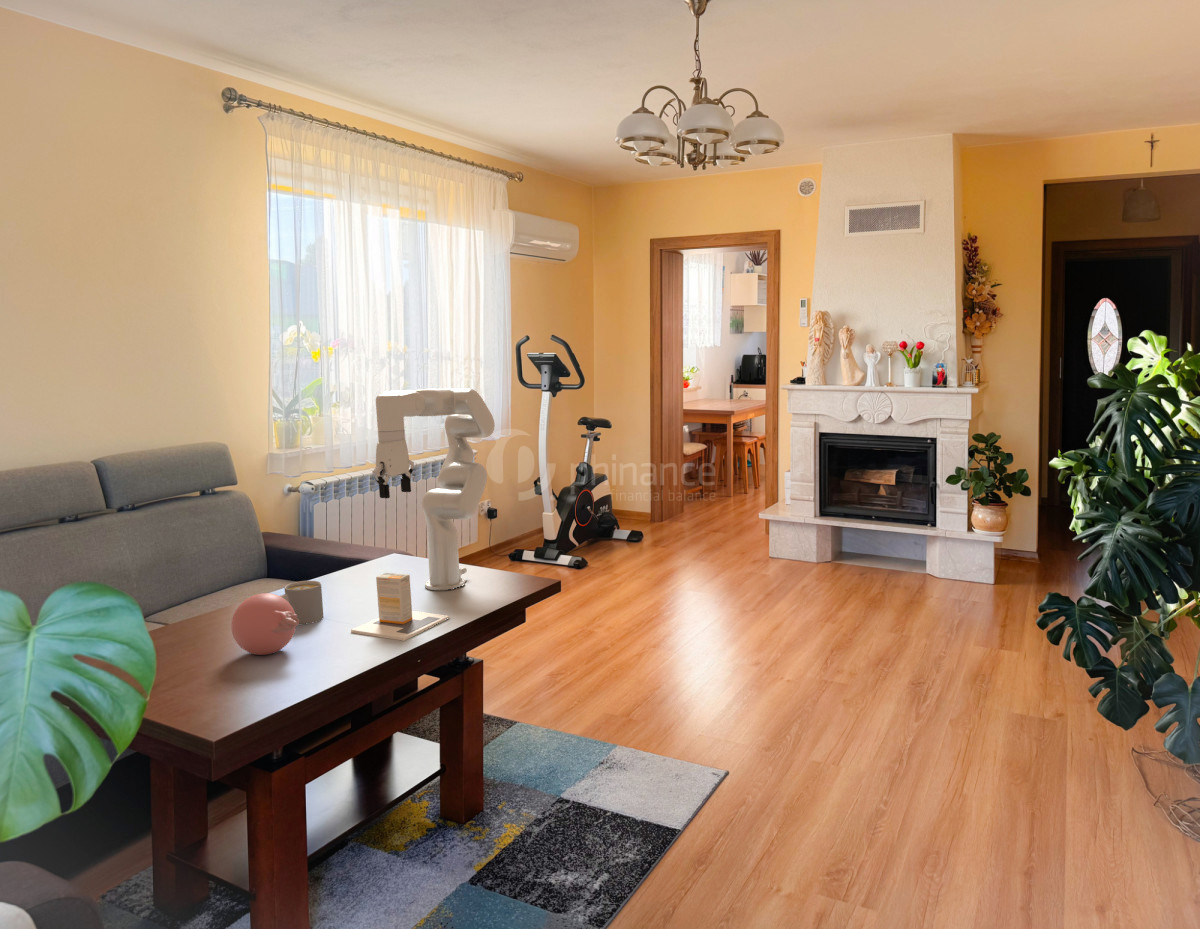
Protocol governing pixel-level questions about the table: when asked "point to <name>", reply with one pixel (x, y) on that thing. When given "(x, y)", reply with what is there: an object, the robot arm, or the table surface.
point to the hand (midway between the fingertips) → (395, 494)
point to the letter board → (400, 626)
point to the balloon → (264, 624)
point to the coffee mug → (305, 600)
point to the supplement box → (394, 598)
